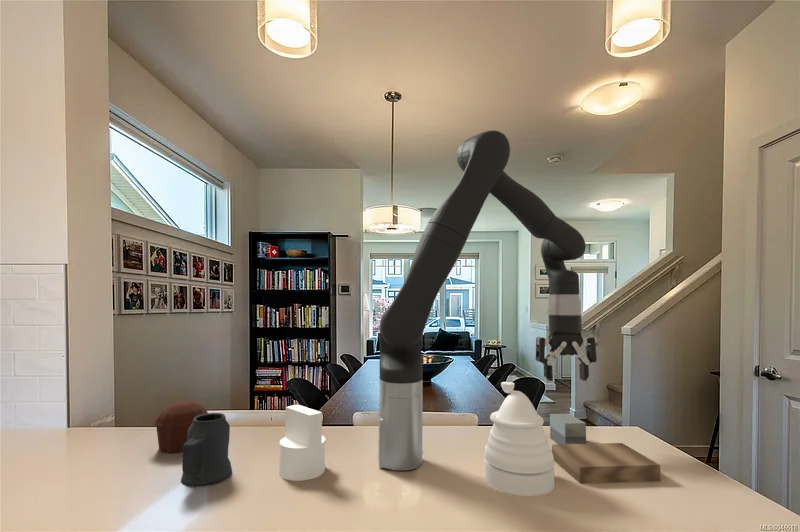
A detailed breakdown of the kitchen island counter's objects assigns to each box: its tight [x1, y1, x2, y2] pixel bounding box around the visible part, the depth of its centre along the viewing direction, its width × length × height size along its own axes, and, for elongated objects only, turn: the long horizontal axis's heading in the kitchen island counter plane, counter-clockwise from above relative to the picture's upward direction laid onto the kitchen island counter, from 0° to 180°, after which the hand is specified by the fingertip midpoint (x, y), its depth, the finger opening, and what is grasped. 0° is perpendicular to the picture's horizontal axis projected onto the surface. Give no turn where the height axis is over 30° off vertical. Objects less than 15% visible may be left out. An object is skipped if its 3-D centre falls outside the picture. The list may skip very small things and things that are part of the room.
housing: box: [549, 413, 587, 444], centre depth 99 cm, size 5×8×6 cm, turn 4°
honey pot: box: [483, 381, 555, 497], centre depth 80 cm, size 13×13×18 cm
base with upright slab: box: [278, 404, 326, 482], centre depth 83 cm, size 9×9×12 cm
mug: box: [180, 412, 233, 488], centre depth 79 cm, size 12×9×11 cm
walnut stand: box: [551, 442, 662, 484], centre depth 84 cm, size 16×12×3 cm
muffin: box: [153, 400, 208, 455], centre depth 96 cm, size 12×11×10 cm
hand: (566, 380), depth 100 cm, fingers open, 8 cm apart
